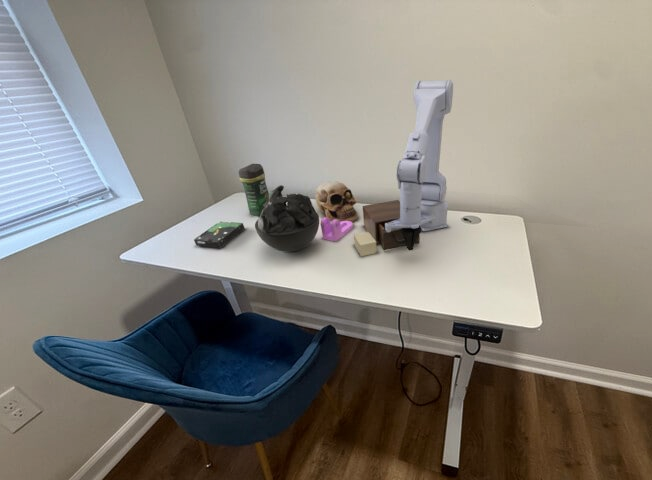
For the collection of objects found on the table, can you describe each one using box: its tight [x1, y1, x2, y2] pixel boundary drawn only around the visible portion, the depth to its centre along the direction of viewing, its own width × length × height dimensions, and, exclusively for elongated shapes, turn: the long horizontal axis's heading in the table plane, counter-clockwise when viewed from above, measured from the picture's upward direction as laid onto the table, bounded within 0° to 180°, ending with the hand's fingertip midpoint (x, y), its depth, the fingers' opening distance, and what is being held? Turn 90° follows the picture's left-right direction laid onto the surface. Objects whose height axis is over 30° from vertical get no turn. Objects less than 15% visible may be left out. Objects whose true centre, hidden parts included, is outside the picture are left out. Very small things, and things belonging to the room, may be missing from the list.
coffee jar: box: [237, 163, 270, 217], centre depth 126 cm, size 10×8×19 cm
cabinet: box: [362, 199, 400, 245], centre depth 110 cm, size 14×13×8 cm
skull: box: [314, 180, 359, 223], centre depth 123 cm, size 16×17×13 cm
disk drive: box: [193, 221, 246, 249], centre depth 114 cm, size 10×3×15 cm
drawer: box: [377, 221, 421, 251], centre depth 103 cm, size 18×12×6 cm, turn 18°
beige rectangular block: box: [353, 231, 378, 257], centre depth 102 cm, size 5×8×4 cm
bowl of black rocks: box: [254, 185, 320, 253], centre depth 101 cm, size 20×20×19 cm
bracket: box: [320, 216, 354, 242], centre depth 112 cm, size 13×6×7 cm, turn 152°
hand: (409, 248), depth 95 cm, fingers closed, pressing on drawer
